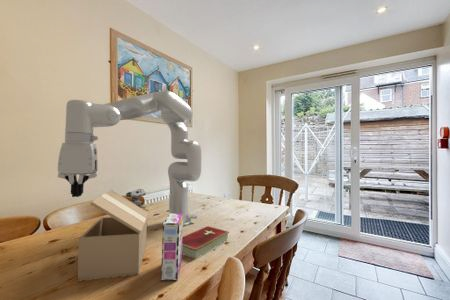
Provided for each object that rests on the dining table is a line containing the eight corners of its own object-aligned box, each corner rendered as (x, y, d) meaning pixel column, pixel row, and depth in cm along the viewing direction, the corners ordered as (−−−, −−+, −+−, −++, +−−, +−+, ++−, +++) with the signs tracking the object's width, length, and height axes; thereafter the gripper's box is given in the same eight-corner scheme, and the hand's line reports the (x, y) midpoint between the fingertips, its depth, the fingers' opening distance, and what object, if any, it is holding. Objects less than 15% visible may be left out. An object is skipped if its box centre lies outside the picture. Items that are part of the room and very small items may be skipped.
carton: (146, 245, 84) (146, 214, 84) (138, 274, 64) (139, 234, 64) (100, 249, 80) (101, 217, 80) (77, 281, 60) (78, 238, 61)
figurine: (149, 216, 122) (150, 189, 122) (130, 221, 113) (130, 192, 113) (140, 213, 128) (141, 187, 128) (121, 217, 118) (122, 190, 119)
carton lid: (147, 214, 84) (148, 212, 84) (139, 233, 64) (141, 231, 65) (109, 191, 81) (111, 189, 81) (90, 204, 61) (92, 201, 61)
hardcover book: (171, 251, 80) (171, 240, 80) (206, 234, 98) (207, 225, 98) (195, 261, 74) (195, 248, 74) (228, 240, 91) (229, 231, 91)
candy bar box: (178, 281, 61) (179, 223, 61) (160, 281, 61) (161, 223, 61) (182, 261, 72) (183, 212, 73) (167, 261, 72) (168, 212, 72)
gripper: (108, 140, 75) (106, 193, 74) (58, 139, 71) (56, 194, 71) (101, 139, 68) (98, 198, 67) (45, 137, 64) (42, 199, 64)
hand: (76, 196), depth 69 cm, fingers closed
